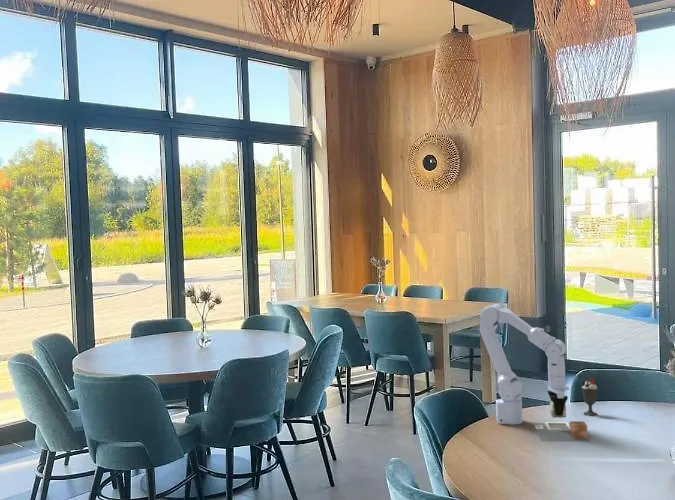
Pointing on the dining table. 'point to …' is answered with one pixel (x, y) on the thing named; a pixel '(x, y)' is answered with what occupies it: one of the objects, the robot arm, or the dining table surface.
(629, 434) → the dining table surface
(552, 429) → the grey board
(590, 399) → the sundae
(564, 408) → the sage block
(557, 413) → the robot arm
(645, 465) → the dining table surface
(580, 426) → the terracotta block
